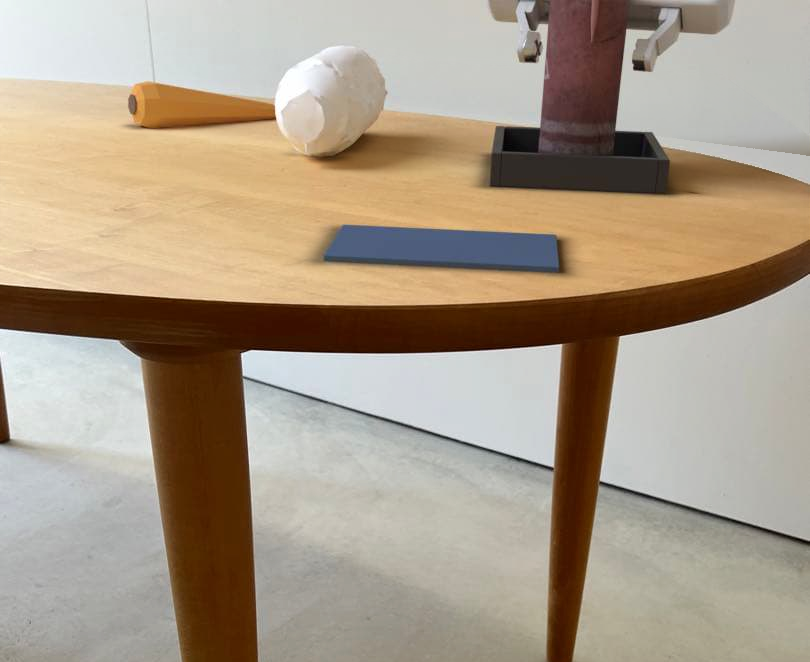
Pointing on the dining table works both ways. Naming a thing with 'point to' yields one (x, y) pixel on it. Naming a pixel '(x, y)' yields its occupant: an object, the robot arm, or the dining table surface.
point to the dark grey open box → (579, 164)
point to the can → (582, 76)
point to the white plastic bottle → (329, 100)
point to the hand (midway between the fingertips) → (582, 62)
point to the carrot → (190, 107)
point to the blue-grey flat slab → (445, 248)
